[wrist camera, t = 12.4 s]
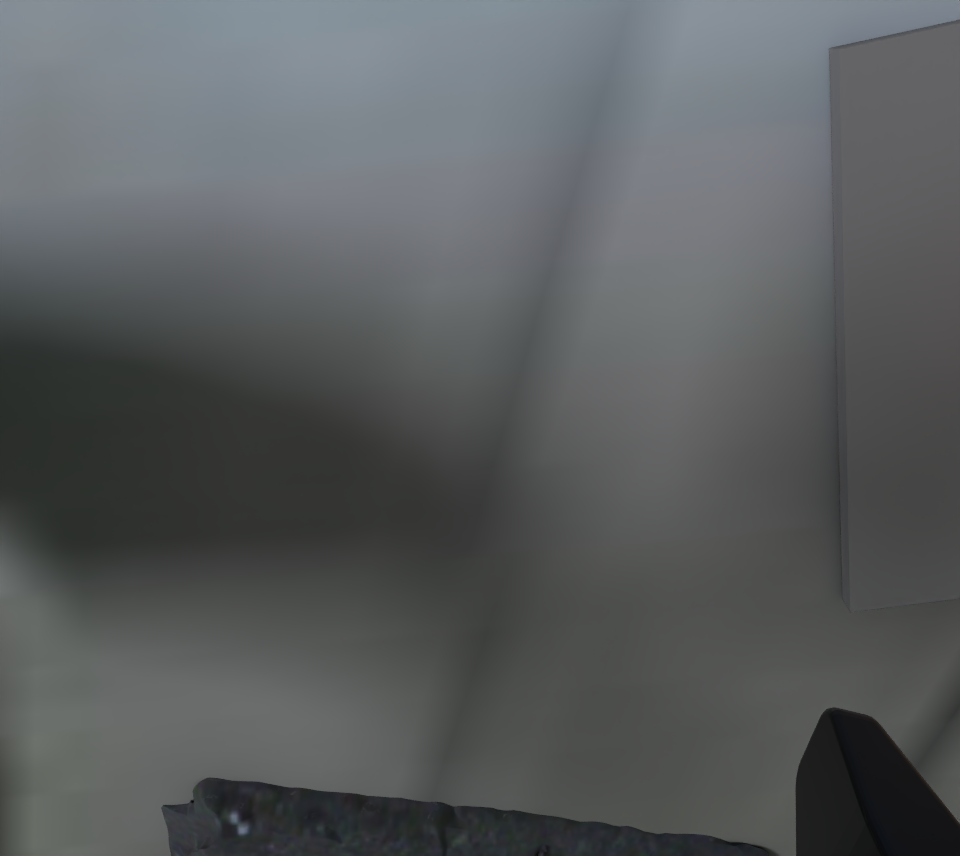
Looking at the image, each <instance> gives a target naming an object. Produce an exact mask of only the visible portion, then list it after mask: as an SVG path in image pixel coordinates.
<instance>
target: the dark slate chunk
mask: <svg viewBox="0 0 960 856" xmlns="http://www.w3.org/2000/svg"><path fill="white" fill-rule="evenodd" d="M193 797H194V801H190V803H188V804H182V805H163V807H162V812H163V815H164V818H165V821H166V824H167V828H168V834H169V846H170V852H171V856H769V855H768V852H766V851H764V850H762V849H760V848H757V847H754V846H751V845H749V844H745V843H730V842H727V841H724V840H722V839H718V838H715V837H712V836H706V835H697V834H669V833H664V834H654V833H649V832H644V831H641V830H639V829H636V828H633V827H629V826H621V827H618V826H613V825H609V824H606V823H601V822H578V821H574V820H570V819H565V818H560V817H554V816H545V815H537V814H531V813H526V812H521V811H515V810H512V811H503V810H497V809H494V808H485V807H470V806H458V807H452V806H450V805H447V804H444V803H441V802H421V801H414V800H408V799H403V798H388V797H376V796H365V795H359V794H352V793H339V792H324V791H316V790H311V789H305V788H288V787H282V786H277V785H272V784H267V783H261V782H247V781H231V780H225V779H218V778H207V779H205V780H203V781H201V782H200V783H198V784H197V785H196V786H195V788H194V790H193Z"/></svg>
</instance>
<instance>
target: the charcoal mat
mask: <svg viewBox="0 0 960 856" xmlns="http://www.w3.org/2000/svg"><path fill="white" fill-rule="evenodd" d="M829 60H830V102H831V144H832V185H833V227H834V269H835V310H836V352H837V394H838V435H839V477H840V519H841V560H842V599H843V600H844V602H845V604H846V606H847V608H848V610H849V611H850V613H851V612H859V611H867V610H874V609H882V608H890V607H898V606H906V605H914V604H922V603H930V602H938V601H946V600H953V599H960V20H956V21H952V22H947V23H943V24H938V25H934V26H929V27H924V28H920V29H915V30H911V31H906V32H902V33H897V34H892V35H888V36H883V37H879V38H874V39H870V40H865V41H860V42H856V43H851V44H847V45H842V46H838V47H833V48H829Z"/></svg>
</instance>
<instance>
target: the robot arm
mask: <svg viewBox="0 0 960 856" xmlns="http://www.w3.org/2000/svg"><path fill="white" fill-rule="evenodd" d="M796 856H960V823H959V822H958V821H957V820H956V818H955V817H954V816H953V815H952V813H951V812H950V811H949V810H948V808H947V807H946V806H945V805H944V803H943V802H942V801H941V800H940V799H939V797H938V796H937V795H936V794H935V792H934V791H933V790H932V789H931V787H930V786H929V785H928V784H927V782H926V781H925V780H924V779H923V777H922V776H921V775H920V774H919V772H918V771H917V770H916V769H915V767H914V766H913V765H912V764H911V762H910V761H909V760H908V759H907V758H906V756H905V755H904V754H903V753H902V751H901V750H900V749H899V748H898V746H897V745H896V744H895V743H894V741H893V740H892V739H891V738H890V736H889V735H888V734H887V733H886V731H885V730H884V729H883V728H882V726H881V725H880V724H879V723H878V722H877V721H876V720H875V719H873V718H872V717H870V716H868V715H865V714H860V713H856V712H852V711H848V710H844V709H839V708H829V709H826V710H825V711H824V712H823V714H822V715H821V717H820V719H819V721H818V723H817V726H816V728H815V730H814V732H813V734H812V737H811V739H810V741H809V743H808V746H807V748H806V750H805V752H804V755H803V757H802V759H801V761H800V764H799V768H798V772H797V777H796Z"/></svg>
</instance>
